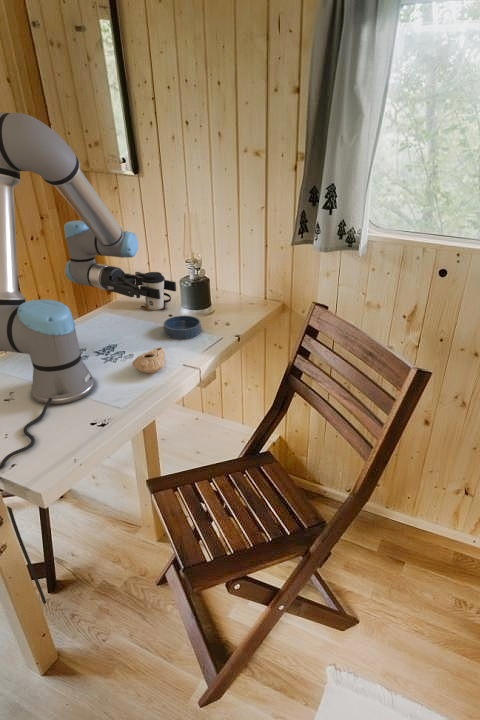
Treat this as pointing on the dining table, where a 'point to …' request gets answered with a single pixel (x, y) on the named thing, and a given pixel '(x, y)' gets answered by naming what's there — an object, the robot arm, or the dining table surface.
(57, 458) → the dining table surface
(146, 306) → the green and brown piece
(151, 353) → the pottery oil lamp
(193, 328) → the bowl
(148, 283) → the coffee cup
